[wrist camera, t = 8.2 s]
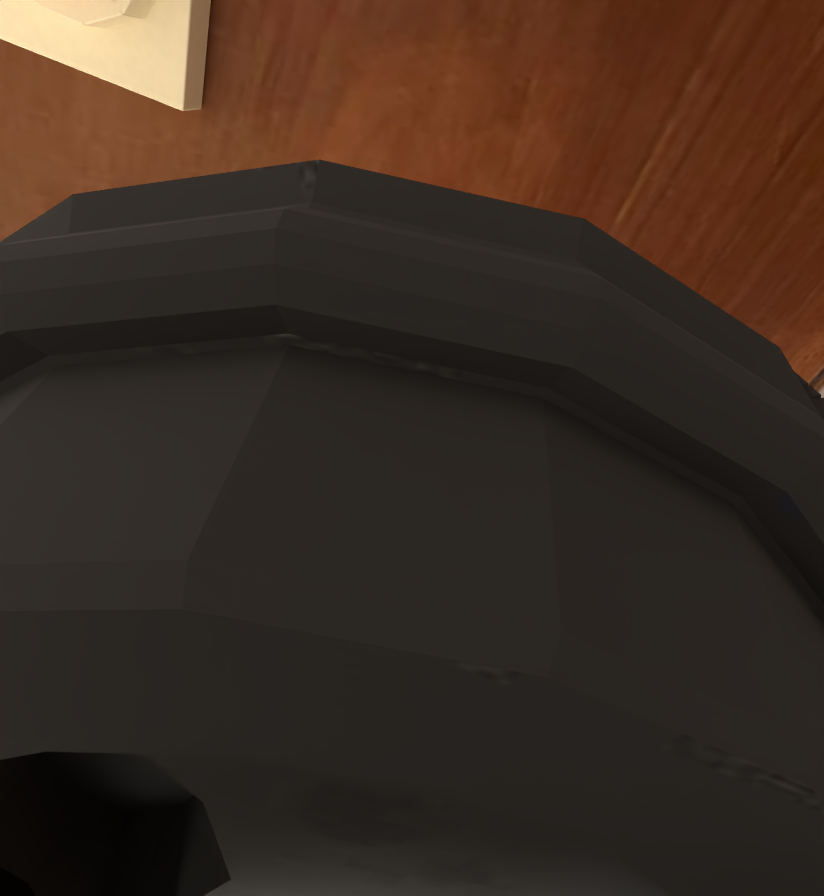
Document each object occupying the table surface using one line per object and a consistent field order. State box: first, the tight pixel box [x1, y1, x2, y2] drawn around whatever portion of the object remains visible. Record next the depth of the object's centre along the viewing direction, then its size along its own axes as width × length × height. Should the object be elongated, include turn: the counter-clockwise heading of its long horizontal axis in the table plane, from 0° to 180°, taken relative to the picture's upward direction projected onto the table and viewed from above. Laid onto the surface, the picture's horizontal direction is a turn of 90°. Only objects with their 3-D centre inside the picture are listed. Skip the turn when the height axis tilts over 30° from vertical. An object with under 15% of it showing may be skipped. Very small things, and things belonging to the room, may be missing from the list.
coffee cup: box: [0, 160, 824, 896], centre depth 11 cm, size 11×11×15 cm
